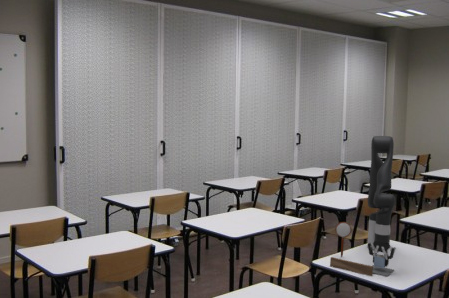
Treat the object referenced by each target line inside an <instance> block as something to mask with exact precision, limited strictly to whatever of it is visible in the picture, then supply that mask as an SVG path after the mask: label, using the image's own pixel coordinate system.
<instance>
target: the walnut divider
mask: <svg viewBox="0 0 449 298" xmlns="http://www.w3.org/2000/svg"><path fill="white" fill-rule="evenodd" d="M329 263H330V264H329V267H332V266H333V267H332V268H336V269H340V270H345V271H348V272H353V273H357V274H361V275H366V276H369V277H372V276H373V275H374V273H373V266H372V265H369V264H364V263H359V262H355V261H351V260H348V259H347V260H346V259H342V258H338V257H333V256H331V257H330V262H329Z"/></svg>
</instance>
